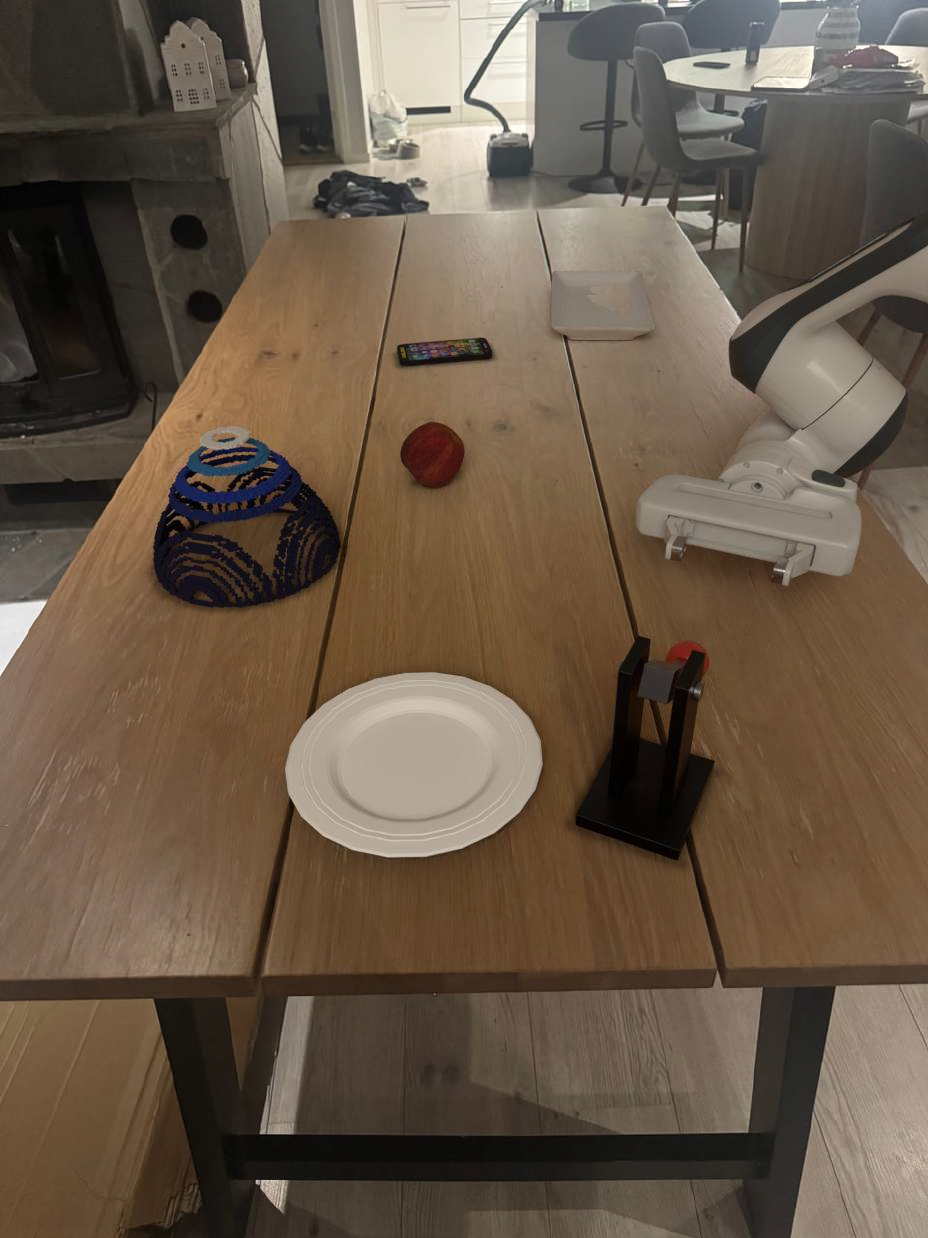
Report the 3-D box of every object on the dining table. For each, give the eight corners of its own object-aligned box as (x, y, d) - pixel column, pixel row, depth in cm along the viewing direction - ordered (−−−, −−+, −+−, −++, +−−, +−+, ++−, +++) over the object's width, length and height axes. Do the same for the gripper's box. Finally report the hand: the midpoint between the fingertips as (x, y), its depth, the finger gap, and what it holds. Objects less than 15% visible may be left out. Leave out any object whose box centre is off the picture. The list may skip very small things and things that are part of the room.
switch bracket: (618, 741, 78) (630, 609, 70) (713, 771, 75) (737, 635, 67) (575, 825, 71) (582, 688, 63) (677, 861, 68) (699, 722, 60)
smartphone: (493, 353, 147) (399, 361, 146) (493, 359, 148) (400, 367, 146) (486, 336, 154) (395, 344, 152) (486, 342, 154) (396, 349, 153)
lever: (666, 673, 77) (675, 633, 77) (707, 684, 76) (716, 644, 75) (626, 700, 65) (637, 654, 65) (673, 714, 64) (685, 667, 63)
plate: (519, 675, 85) (519, 659, 84) (566, 854, 69) (567, 837, 67) (291, 699, 84) (288, 683, 82) (283, 889, 67) (279, 872, 66)
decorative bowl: (288, 621, 93) (265, 495, 85) (120, 590, 99) (82, 469, 90) (367, 523, 108) (354, 407, 100) (217, 501, 114) (193, 390, 105)
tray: (640, 287, 175) (642, 268, 173) (654, 347, 150) (656, 326, 148) (550, 288, 177) (551, 269, 174) (549, 347, 151) (550, 326, 149)
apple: (457, 500, 112) (454, 439, 107) (395, 495, 113) (390, 435, 109) (470, 471, 118) (468, 412, 113) (411, 467, 119) (406, 409, 114)
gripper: (661, 447, 93) (615, 511, 84) (876, 485, 86) (853, 560, 76) (655, 502, 97) (611, 569, 87) (861, 543, 89) (837, 622, 80)
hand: (725, 565), depth 82 cm, fingers open, 8 cm apart
